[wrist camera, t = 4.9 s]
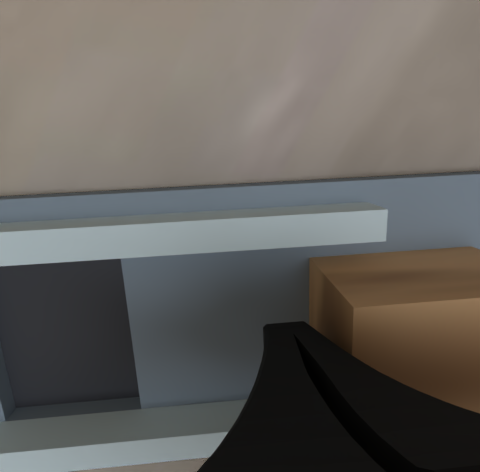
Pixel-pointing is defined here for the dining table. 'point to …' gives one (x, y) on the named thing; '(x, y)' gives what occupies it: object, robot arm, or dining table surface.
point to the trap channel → (177, 302)
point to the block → (405, 316)
